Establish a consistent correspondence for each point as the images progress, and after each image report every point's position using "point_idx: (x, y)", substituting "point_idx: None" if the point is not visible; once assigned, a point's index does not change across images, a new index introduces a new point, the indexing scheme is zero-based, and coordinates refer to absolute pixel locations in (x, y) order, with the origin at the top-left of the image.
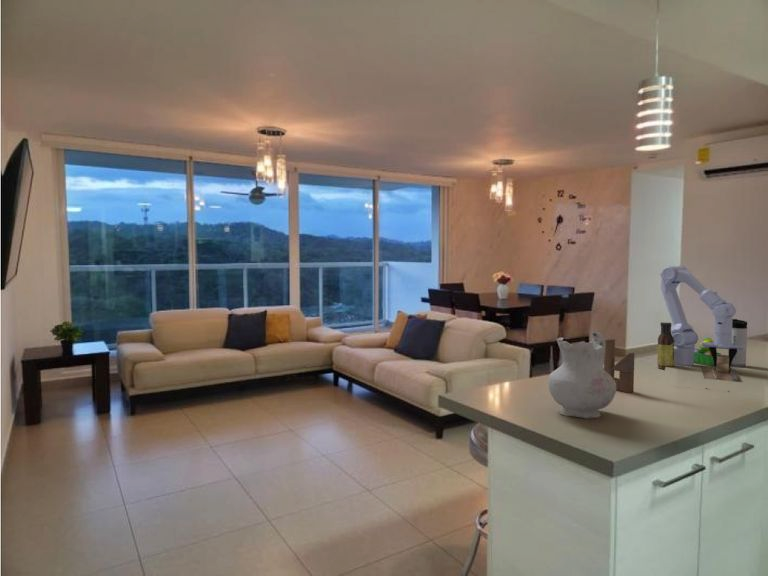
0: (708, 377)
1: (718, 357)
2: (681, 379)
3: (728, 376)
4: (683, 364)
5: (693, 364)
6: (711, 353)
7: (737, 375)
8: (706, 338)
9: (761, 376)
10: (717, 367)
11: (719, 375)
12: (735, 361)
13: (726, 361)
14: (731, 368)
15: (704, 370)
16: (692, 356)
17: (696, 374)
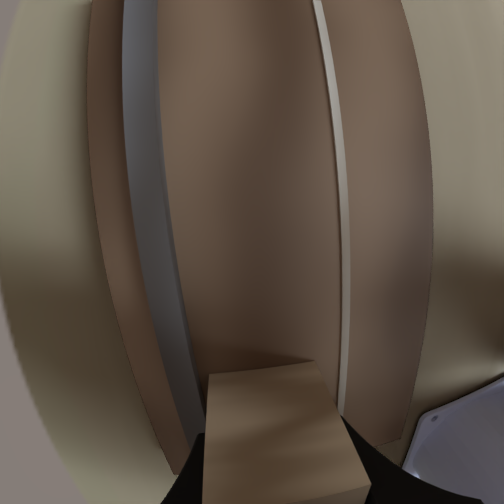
0: (373, 11)
1: (348, 479)
2: (490, 43)
3: (198, 152)
4: (483, 409)
5: (427, 455)
6: (448, 491)
7: (118, 269)
8: None
9: (46, 430)
10: (318, 386)
11: (290, 153)
12: None
13: (234, 458)
14: None
15: (408, 331)
16: (464, 480)
17: (443, 267)
